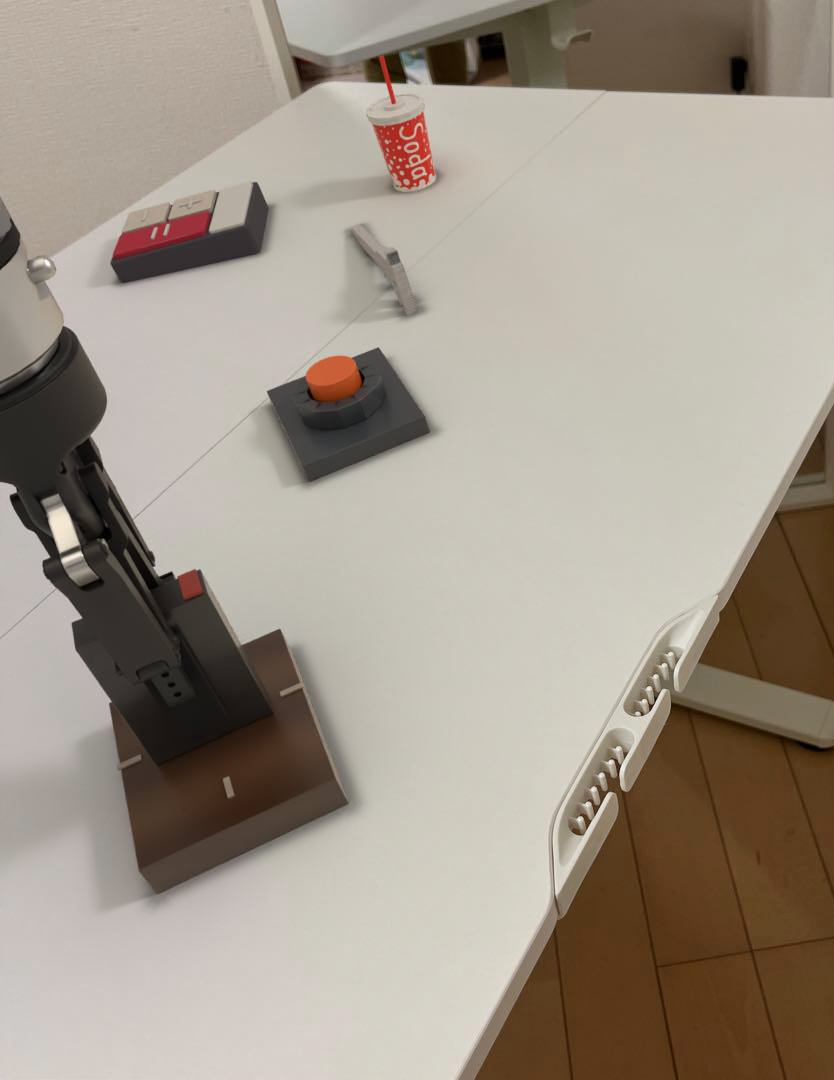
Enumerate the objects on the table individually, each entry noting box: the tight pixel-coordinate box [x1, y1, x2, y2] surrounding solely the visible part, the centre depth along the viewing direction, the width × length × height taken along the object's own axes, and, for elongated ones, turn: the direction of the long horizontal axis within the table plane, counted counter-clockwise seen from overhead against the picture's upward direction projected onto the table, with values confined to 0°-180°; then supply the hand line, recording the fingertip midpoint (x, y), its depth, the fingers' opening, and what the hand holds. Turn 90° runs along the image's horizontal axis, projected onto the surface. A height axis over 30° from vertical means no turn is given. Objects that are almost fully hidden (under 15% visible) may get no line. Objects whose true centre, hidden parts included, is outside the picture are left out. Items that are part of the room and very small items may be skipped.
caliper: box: [351, 224, 418, 316], centre depth 105 cm, size 20×1×6 cm, turn 23°
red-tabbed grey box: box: [71, 568, 273, 765], centre depth 60 cm, size 7×2×10 cm, turn 114°
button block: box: [266, 347, 431, 483], centre depth 88 cm, size 12×10×4 cm
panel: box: [108, 628, 350, 895], centre depth 64 cm, size 13×11×3 cm
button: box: [305, 355, 362, 403], centre depth 86 cm, size 4×4×2 cm
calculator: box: [109, 181, 270, 284], centre depth 117 cm, size 11×4×15 cm
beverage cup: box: [365, 54, 437, 193], centre depth 115 cm, size 6×6×14 cm
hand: (198, 705), depth 62 cm, fingers closed on red-tabbed grey box, 2 cm apart
